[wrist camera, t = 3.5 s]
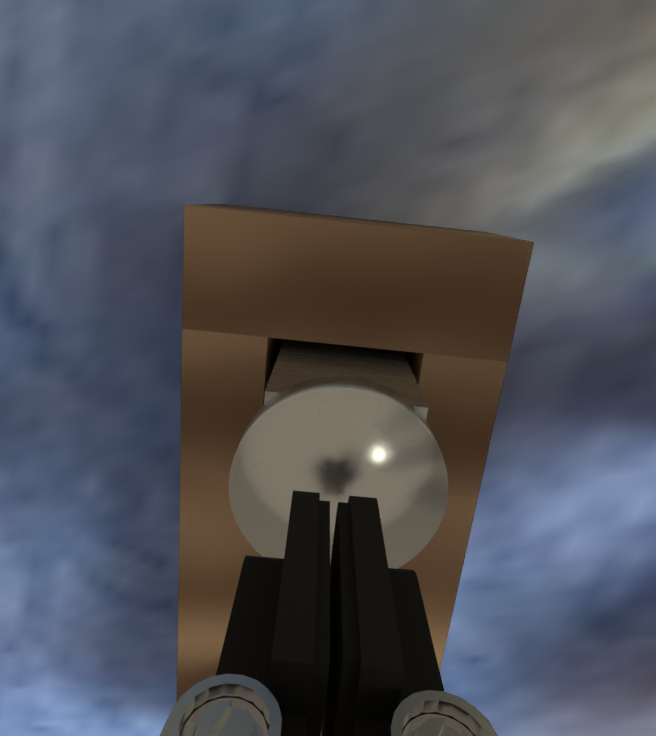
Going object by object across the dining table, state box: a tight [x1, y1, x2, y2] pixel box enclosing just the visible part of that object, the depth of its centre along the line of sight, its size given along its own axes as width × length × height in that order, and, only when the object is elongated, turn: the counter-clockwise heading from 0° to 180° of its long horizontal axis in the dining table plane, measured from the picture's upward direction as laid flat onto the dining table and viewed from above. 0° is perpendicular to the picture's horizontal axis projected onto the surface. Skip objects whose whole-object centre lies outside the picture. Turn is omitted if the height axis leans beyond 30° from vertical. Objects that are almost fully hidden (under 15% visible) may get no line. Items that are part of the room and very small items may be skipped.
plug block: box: [177, 204, 534, 702], centre depth 21 cm, size 24×10×5 cm, turn 174°
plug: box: [229, 339, 448, 569], centre depth 15 cm, size 5×5×6 cm
